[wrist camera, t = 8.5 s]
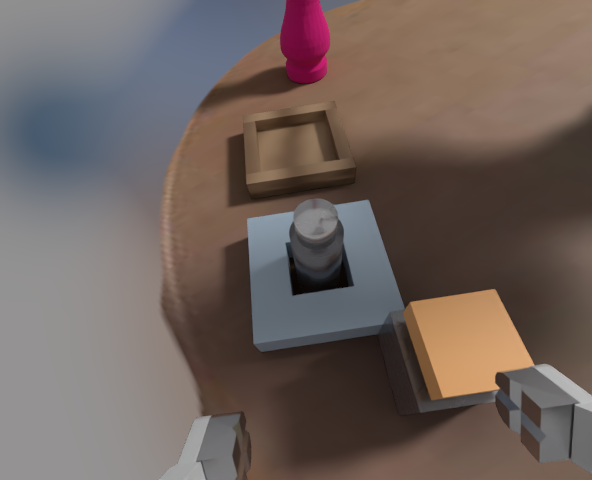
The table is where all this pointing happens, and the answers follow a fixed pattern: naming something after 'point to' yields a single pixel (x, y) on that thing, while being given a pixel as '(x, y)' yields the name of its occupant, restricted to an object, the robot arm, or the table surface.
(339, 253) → the round-tipped peg
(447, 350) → the tan rectangular block
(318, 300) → the socket block
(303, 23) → the pepper mill
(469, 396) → the housing
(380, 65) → the table surface
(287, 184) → the tray
